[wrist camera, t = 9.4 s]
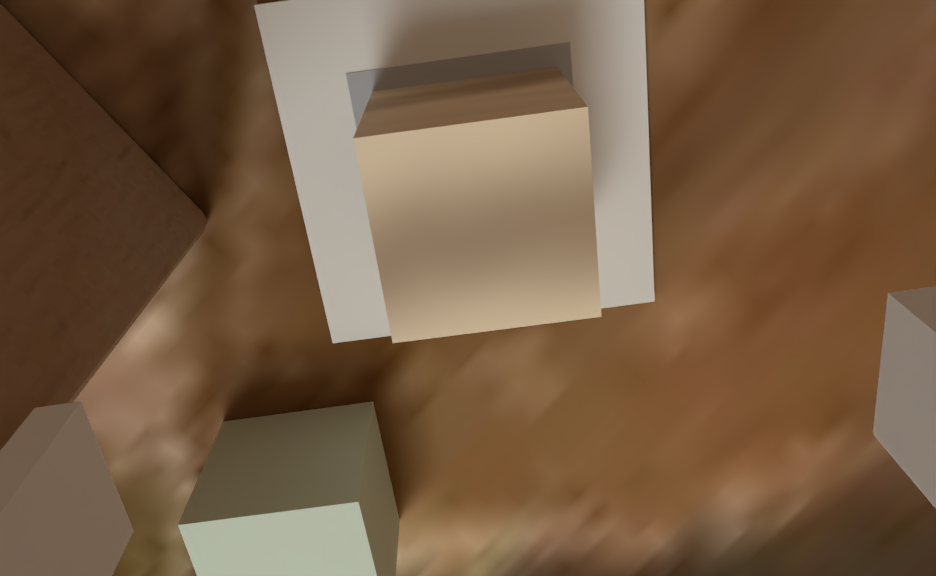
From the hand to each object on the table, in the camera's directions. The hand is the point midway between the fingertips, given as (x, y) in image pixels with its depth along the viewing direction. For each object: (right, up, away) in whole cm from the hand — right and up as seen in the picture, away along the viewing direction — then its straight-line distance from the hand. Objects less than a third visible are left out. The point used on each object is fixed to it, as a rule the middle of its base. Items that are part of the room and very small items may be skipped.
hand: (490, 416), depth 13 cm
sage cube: (-7, -5, +19) cm, 21 cm away
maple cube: (0, +6, +14) cm, 15 cm away
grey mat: (0, +6, +14) cm, 15 cm away
